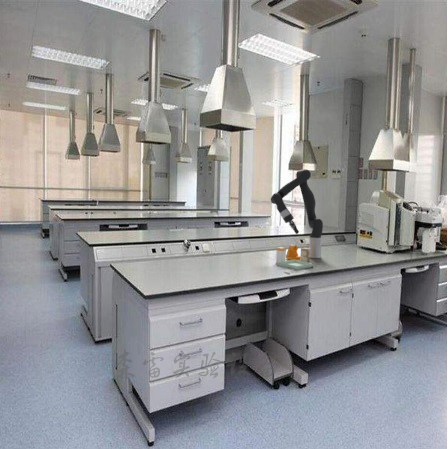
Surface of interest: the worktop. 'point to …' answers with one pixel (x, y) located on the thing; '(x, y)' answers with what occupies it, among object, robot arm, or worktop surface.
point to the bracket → (292, 253)
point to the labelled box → (281, 254)
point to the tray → (295, 264)
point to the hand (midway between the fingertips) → (297, 233)
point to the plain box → (305, 255)
